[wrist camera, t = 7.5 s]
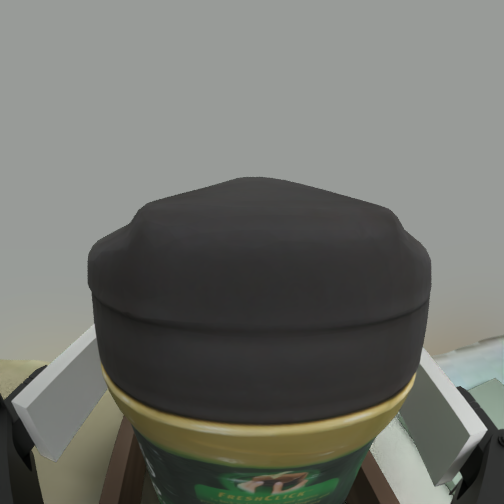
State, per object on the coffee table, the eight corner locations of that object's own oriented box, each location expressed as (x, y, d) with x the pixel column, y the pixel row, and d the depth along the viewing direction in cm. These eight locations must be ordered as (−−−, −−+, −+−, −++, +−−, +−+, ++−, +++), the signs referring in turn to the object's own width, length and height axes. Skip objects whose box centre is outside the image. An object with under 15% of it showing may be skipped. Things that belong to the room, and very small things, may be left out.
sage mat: (492, 383, 22) (495, 377, 22) (566, 449, 9) (570, 443, 8) (399, 420, 20) (401, 413, 20) (479, 532, 7) (485, 526, 7)
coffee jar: (186, 466, 16) (159, 178, 12) (299, 466, 17) (340, 184, 13) (173, 582, 7) (-3, 182, 3) (324, 578, 7) (519, 203, 3)
